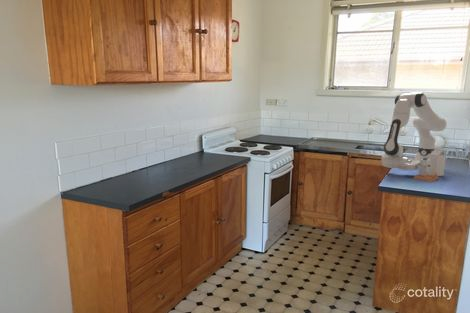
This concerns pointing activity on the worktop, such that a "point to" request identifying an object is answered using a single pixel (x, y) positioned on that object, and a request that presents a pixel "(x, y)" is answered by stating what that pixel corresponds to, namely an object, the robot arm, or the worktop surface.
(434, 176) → the coupler
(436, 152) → the milk carton
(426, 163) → the lock
